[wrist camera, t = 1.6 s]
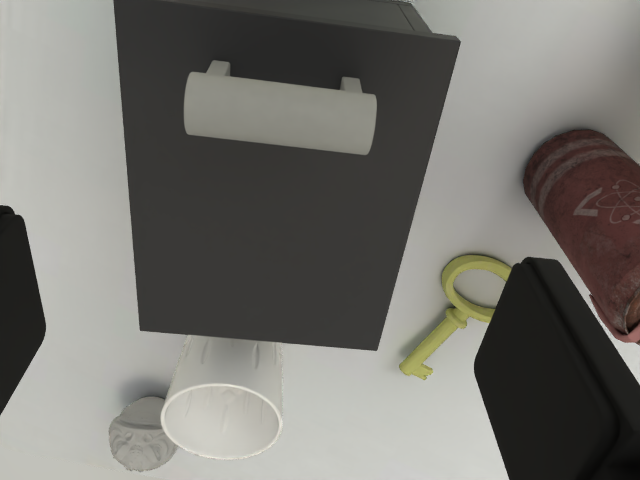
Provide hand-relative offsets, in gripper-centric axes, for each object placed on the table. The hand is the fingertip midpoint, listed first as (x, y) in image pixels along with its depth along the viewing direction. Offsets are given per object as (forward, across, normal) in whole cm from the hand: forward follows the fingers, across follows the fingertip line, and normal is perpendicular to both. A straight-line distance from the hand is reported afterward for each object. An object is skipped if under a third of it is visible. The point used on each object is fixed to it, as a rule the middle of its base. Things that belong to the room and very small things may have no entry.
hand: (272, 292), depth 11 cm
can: (+24, -19, +7) cm, 31 cm away
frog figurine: (+24, +9, +34) cm, 43 cm away
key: (+24, -15, +20) cm, 35 cm away
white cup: (+24, +2, +23) cm, 34 cm away
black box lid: (+14, 0, +6) cm, 15 cm away
